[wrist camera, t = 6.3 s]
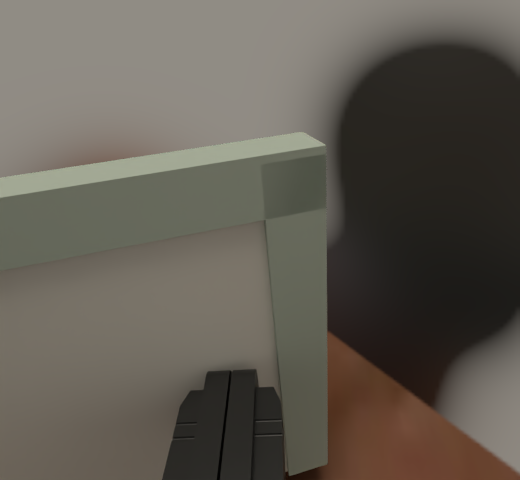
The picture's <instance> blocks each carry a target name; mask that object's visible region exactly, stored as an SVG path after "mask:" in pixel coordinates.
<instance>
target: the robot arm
mask: <svg viewBox="0 0 520 480" xmlns="http://www.w3.org/2000/svg"><path fill="white" fill-rule="evenodd" d="M172 438H173V439H172V441H171V445H170V449H169V453H168V457H167V461H166V465H165V469H164V473H163V478H162V480H286V474H285V447H284V428H283V418H282V407H281V400H280V398H279V396H278V394H277V392H276V391H275V389H274V387H259V384H258V376H257V370H256V369H244V370H233V371H231V370H226V371H208V372H207V374H206V378H205V384H204V389H203V390H191V391H190V392H189V393H188V395H187V396H186V398H185V399H184V401H183V402H182V404H181V405H180V408H179V412H178V416H177V420H176V426H175V428H174V433H173V437H172Z"/></svg>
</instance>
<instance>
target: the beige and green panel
mask: <svg viewBox="0 0 520 480" xmlns="http://www.w3.org/2000/svg"><path fill="white" fill-rule="evenodd" d="M326 233H327V229H326V145H325V144H323V143H321V142H319V141H317V140H316V139H314V138H312V137H311V136H309V135H307V134H305V133H304V132H298V133H292V134H285V135H278V136H272V137H266V138H259V139H253V140H246V141H239V142H232V143H226V144H219V145H213V146H206V147H200V148H193V149H187V150H180V151H173V152H167V153H161V154H154V155H148V156H141V157H134V158H128V159H122V160H114V161H109V162H102V163H95V164H89V165H82V166H75V167H69V168H62V169H55V170H49V171H42V172H37V173H30V174H23V175H16V176H10V177H3V178H0V480H162V478H163V473H164V469H165V465H166V461H167V457H168V453H169V449H170V445H171V441H172V439H173V438H172V437H173V433H174V428H175V426H176V420H177V416H178V412H179V408H180V405H181V404H182V402H183V401H184V399H185V398H186V396H187V395H188V393H189V392H190V391H191V390H203V389H204V384H205V378H206V374H207V372H208V371H226V370H231V371H233V370H244V369H256V370H257V376H258V384H259V387H274V389H275V391H276V392H277V394H278V396H279V398H280V400H281V407H282V418H283V428H284V447H285V472H287V471H288V474H289V476H292V475H295V474H298V473H301V472H304V471H307V470H310V469H314V468H317V467H320V466H323V465H326V464H328V422H327V236H326V235H327V234H326Z"/></svg>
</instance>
